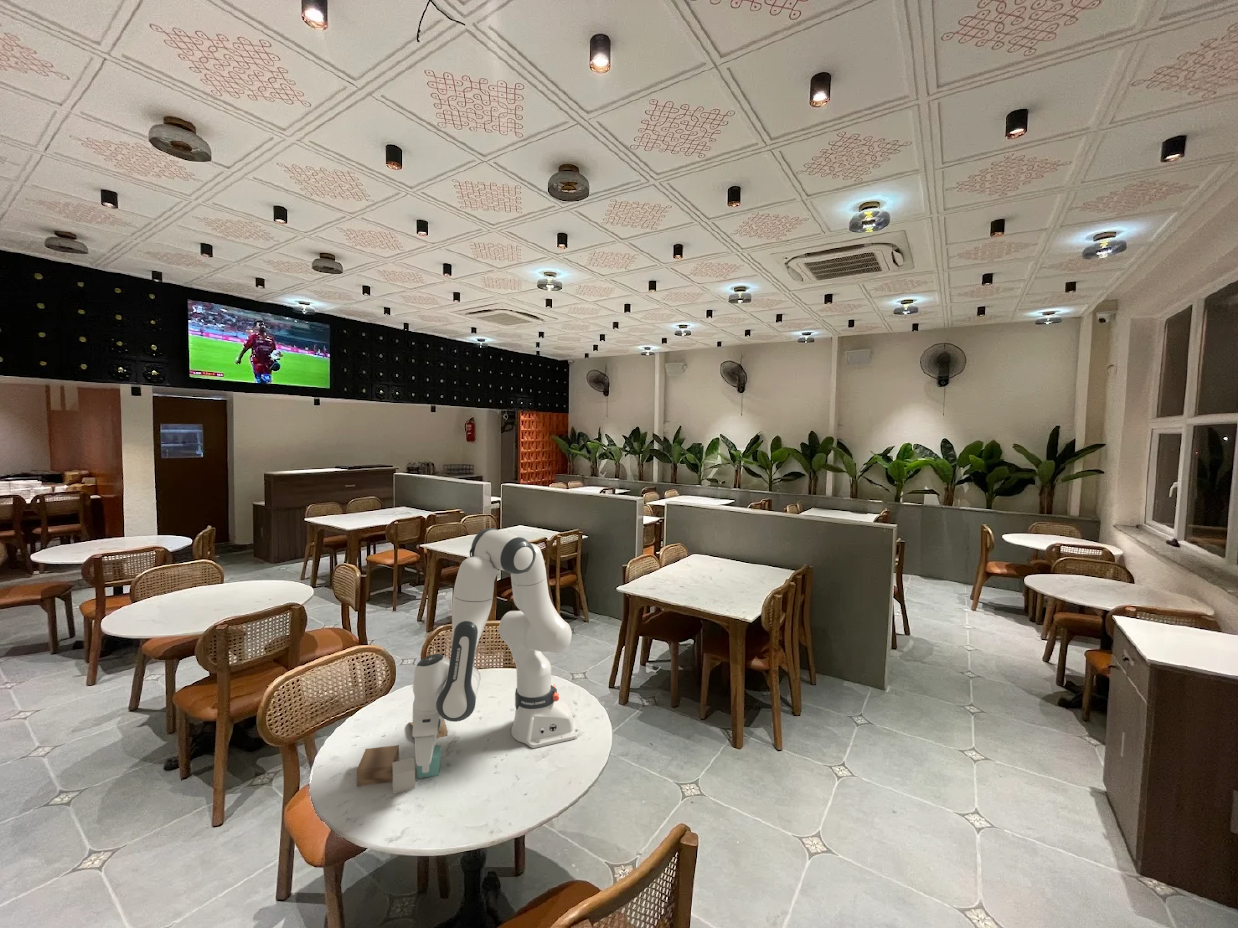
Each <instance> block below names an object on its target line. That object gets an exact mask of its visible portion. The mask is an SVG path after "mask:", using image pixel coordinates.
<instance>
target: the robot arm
mask: <svg viewBox="0 0 1238 928" xmlns="http://www.w3.org/2000/svg"><path fill="white" fill-rule="evenodd" d="M500 570H501V571H504V572H506V573H508V574H510V579H511V580H510V582H511V589H512V598H513V603H514V605H515V606H516V607H517V609H518V610H509V611H507V612H506V613H505V614H504V615H503V616H502V618H501V619H500V621H499V625H498V633H499V636H500V638H501V639H502V640H503V642H504V643H505V644H506V645H507V648H509V650H510V652H511V656H512V658H513V660H514V664H515V669H516V688H515V691H514V692H515V693H514V705H515V706H514V707H515V714H514V720H513V723H512V727H511V730H510V733H511V736H512V738H513V739H514V740H516V741H518V742H520V743H523V744H525V745H526V746H528V747H530V748H531V749H536V748H541V747H546V746H550V745H554V744H558V743H562V742H563V743H564V742H567V741H571V740H575V739H577V738H578V737H579V736H580V732H581V724H580V720H579V718H578V716H577V715H576V714H575V713H574V712H573V711H572V707H571V706H570V703H569V702H567V701H566V700H564V699H562V698H561V697H560V695H559V693H558V690H557V688H556V685H555V684H553V685H552V666H551V663H550V660H549V659H548V658H547V657H546V656H545V655H544V654H563V653H564V652H565V651H567V649H568V648H569V646H570V644H571V642H572V636H573V634H572V629H571V626H570V624H569V623H568V622H566V620H564V619H563V618H562V616H561V615H560V614H559V613H558V611H557V610H556V608H555V606H554V604H553V602H552V599H551V596H550V592H549V586H548V585H549V584H548V579H547V569H546V564H545V560H544V556H543V553H542V550H541V548H540V547H539V546H538V545H536V544H535V543H531V542H529V540H528V539H526V538H524V537H522V536H521V537H520V536H519V535H516V534H515V533H511V532H509V531H503V530H499V529H498V528H492V527H491V528H484V529H481V530H480V531H479V532H478V533H476V535H475V536H474V539H473V540H472V543H471V548H470V549H469V557H467V558H466V559H464V560H463V561H462V562H461V564H460V565H459V569H458V571H457V576H456V579H455V582H454V588H453V592H452V593H453V594H452V603H451V626H452V627H451V629H452V630H451V631H452V632H451V633H452V634H451V635H452V636H451V637H452V638H451V639H452V641H451V649H450V650H451V651H450V657H449V658H447V657H446V656H445V655H443V654H441V653H440V654H439V653H433V654H429V655H427V656H425V657H423V658H422V659H421V660H419V661H418V663H417V664H416V666H415V668H414V674H413V682H412V683H413V684H412V685H413V686H412V691H413V695H414V698H413V702H412V722H413V725H412V726H413V727H412V730H411V731H412V734H411V735H412V737H413V738H414V737H415V740H414V754H415V758H414V759H415V765H416V767H417V766H422V772H423V773H427V772H429V768H430V763H431V760H432V755H433V750H434V746H436V741H437V740H436V736H437V733H438V730H439V727H440V725H441V724H442V721H443V720H445V721H448V722H461V721H463V720H466V719H468V718H469V717H470V716H471V715H472V714H473V713H474V711H475V709H476V702H477V697H478V692H479V686H480V682H481V673H480V671H479V669H478V668H477V667H476V666H475V665H474V663H475V657H476V651H477V647H478V644H479V641H480V638H481V636H482V633H483V631H484V629H485V626H486V624H487V622H488V619H489V615H490V614H491V613H490V612H491V611H492V610H491V609H492V604H493V598H494V592H495V591H494V590H495V581H496V578H497V576H498V574H499V573H500ZM543 653H544V654H543Z"/></svg>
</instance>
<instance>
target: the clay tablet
mask: <svg viewBox="0 0 1238 928" xmlns="http://www.w3.org/2000/svg"><path fill="white" fill-rule="evenodd" d="M408 723H409V724H410V725H412V728H413V721H412V722H411V721H410V722H408ZM444 737H448V729H447V724H446V719H444V720H443V721H442V724H441V725H440V727H439V730H438V733H437V736H436V739H440V738H444ZM413 740H414V741H415V737H413Z"/></svg>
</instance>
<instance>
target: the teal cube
mask: <svg viewBox="0 0 1238 928" xmlns="http://www.w3.org/2000/svg"><path fill="white" fill-rule="evenodd" d="M441 763H442V746H441V744H440V745H434V750H433V755H432V760H431V763H430V768H429V772H427V773H423V772H422V766H417V765H416V767H417V770H416V771H417V777H416V778H417V779H418V778H419V779H421V778H429V777H437V776H439V773H440V768H441Z"/></svg>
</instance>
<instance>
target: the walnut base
mask: <svg viewBox="0 0 1238 928" xmlns="http://www.w3.org/2000/svg"><path fill="white" fill-rule="evenodd" d="M396 761H400V744H398V745H389V746H380V747H371V748H365V750H364V752H363V754H362V757H361V759H360V761H359V763H358V765H357V767H356V787H362V786H370V785H378V784H384V783H385V784H387V783H392V762H396Z"/></svg>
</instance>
